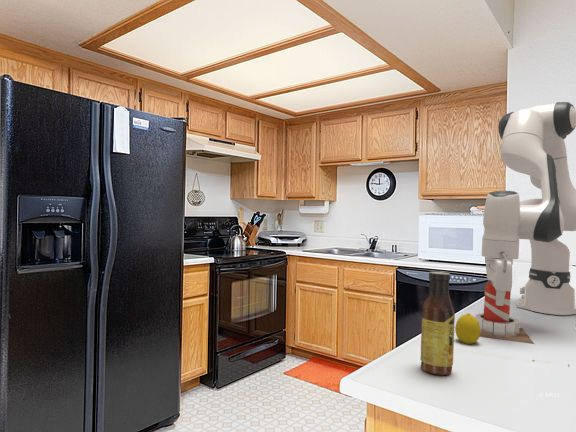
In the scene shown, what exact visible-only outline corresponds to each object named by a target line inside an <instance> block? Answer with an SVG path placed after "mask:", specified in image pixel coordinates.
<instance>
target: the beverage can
mask: <svg viewBox="0 0 576 432" xmlns="http://www.w3.org/2000/svg"><path fill="white" fill-rule="evenodd" d="M511 292H512V290H511V291H506V294H505V298H504V305H503V306H497V305H496V303H495V299H496V289H495V288H494V287H493V285H492V282H490V280H488V279H487V283H486V284H485V286H484V299H483V300H484V301H483V302H484V303H483V313H484V319H486V320H490V321H495V322H503V323H509V317H510V311H511V294H512V293H511Z"/></svg>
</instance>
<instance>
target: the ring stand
mask: <svg viewBox="0 0 576 432" xmlns="http://www.w3.org/2000/svg"><path fill="white" fill-rule="evenodd" d="M479 338H486V339H493V340H501V341H502V340H503V341H510V342H516V343H524V344H533V345H535V343H534V341H533V340H532V338H531V337H530V336H529V334H528V333H527V332H526V331H525V329H524V328H523V327H520V328H519V336H517V337H497V336H491V335H487V334H484V333H481V332H480V337H479Z"/></svg>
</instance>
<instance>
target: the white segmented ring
mask: <svg viewBox="0 0 576 432" xmlns="http://www.w3.org/2000/svg"><path fill="white" fill-rule="evenodd" d="M474 315H475V316H474V317H475V318H476V319H477V320H478V322H479V325H480V332H481V333H484V334H487V335H491V336H497V337H517V336H519V328H521V327H520V323H521V322H520V320H519V319H517V318H515V317H512V316H509V323H503V322H495V321H490V320H486V319H484V312H483V313H477V314H474Z"/></svg>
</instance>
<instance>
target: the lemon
mask: <svg viewBox="0 0 576 432" xmlns="http://www.w3.org/2000/svg"><path fill="white" fill-rule="evenodd" d="M454 332H455V335H456V337H457V339H458V340H459V341H460V342H461V343H463V344H467V345H469V344H470V345H472V344H475V343H476V342H478V340H479V339H480V338H481V337H480V325H479V322H478V320H477V319H476V318H475V316H473V315H472V314H471V313H466V314H463V315H461V316H459V317H458V318H457V321H456V323H455V327H454Z"/></svg>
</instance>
